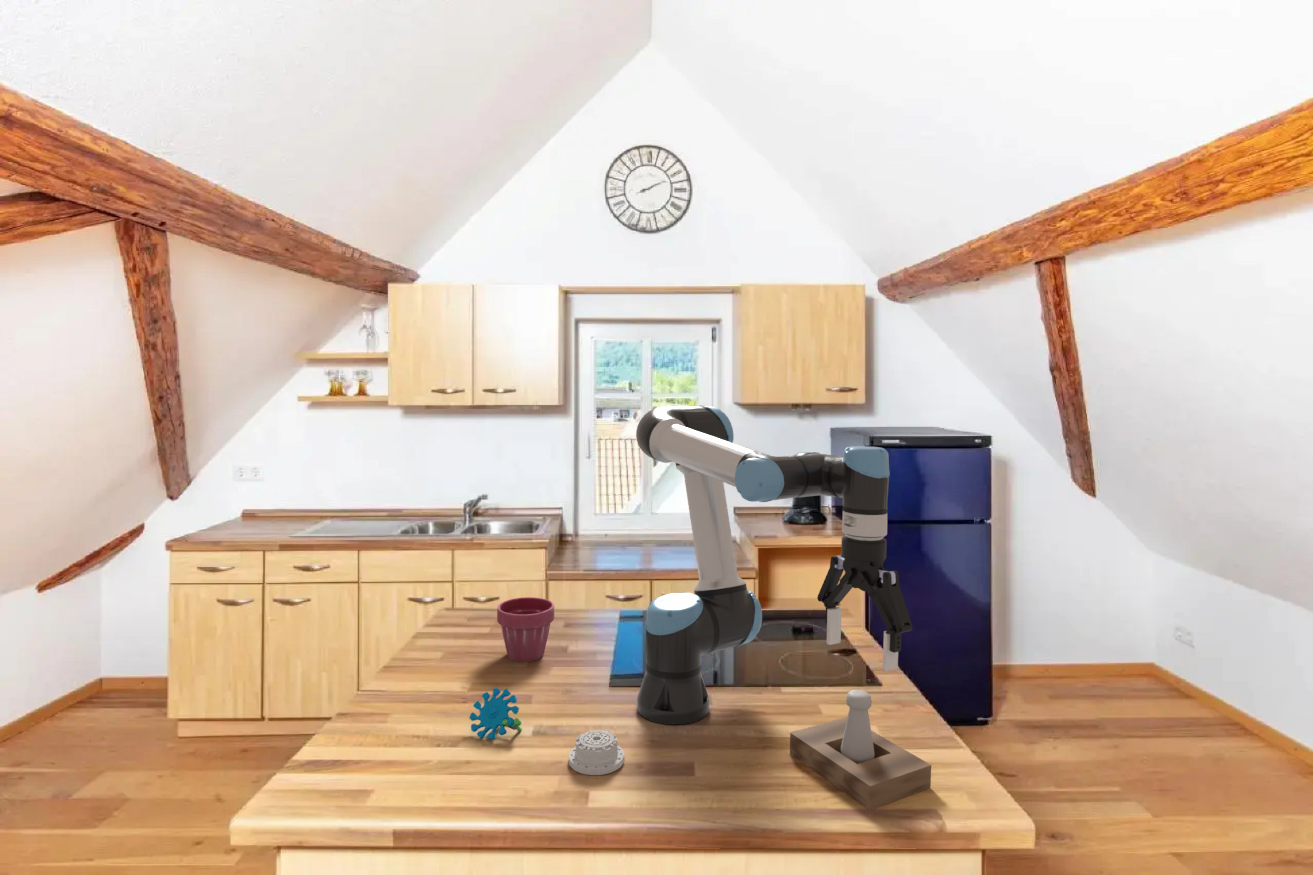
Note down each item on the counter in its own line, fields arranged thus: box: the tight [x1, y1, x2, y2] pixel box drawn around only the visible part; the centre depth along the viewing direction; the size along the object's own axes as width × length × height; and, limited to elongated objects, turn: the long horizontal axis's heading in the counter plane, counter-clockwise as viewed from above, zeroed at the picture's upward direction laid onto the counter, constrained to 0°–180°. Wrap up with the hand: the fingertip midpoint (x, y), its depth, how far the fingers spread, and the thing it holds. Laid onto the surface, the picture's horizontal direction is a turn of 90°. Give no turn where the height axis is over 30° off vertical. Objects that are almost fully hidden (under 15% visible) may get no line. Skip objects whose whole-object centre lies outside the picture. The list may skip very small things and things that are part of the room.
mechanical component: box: [568, 728, 625, 776], centre depth 128 cm, size 10×4×10 cm
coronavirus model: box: [468, 687, 523, 741], centre depth 139 cm, size 11×6×10 cm
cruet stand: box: [789, 716, 932, 811], centre depth 126 cm, size 20×14×4 cm
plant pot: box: [496, 596, 555, 662], centre depth 178 cm, size 14×14×13 cm
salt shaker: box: [841, 689, 875, 764], centre depth 125 cm, size 6×6×13 cm
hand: (860, 655), depth 124 cm, fingers open, 13 cm apart
